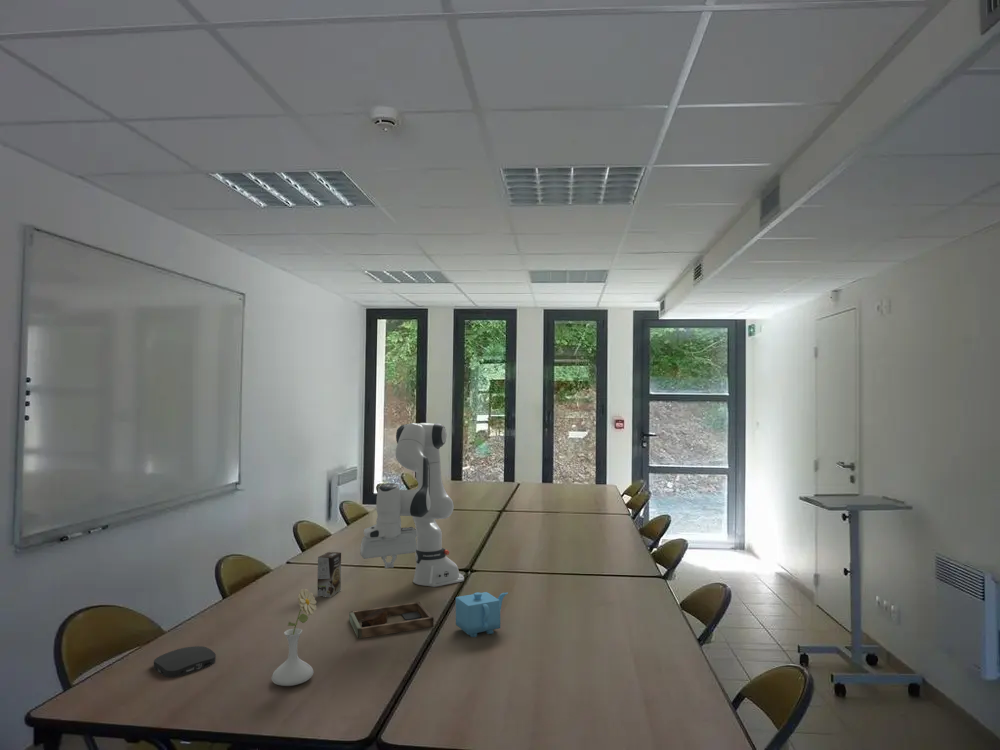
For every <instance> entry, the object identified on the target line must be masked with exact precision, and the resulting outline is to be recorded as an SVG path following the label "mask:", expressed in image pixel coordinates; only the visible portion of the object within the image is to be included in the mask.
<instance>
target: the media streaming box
mask: <svg viewBox="0 0 1000 750" xmlns="http://www.w3.org/2000/svg"><path fill="white" fill-rule="evenodd" d="M212 664H213V665H214V664H216V652H214V651H213V649H210V647H207V646H204V645H203V646H199V645H198V646H197V645H196V646H187V647H182V648H177V649H174V650H170V651H168V652H166V653H164V654H161V655H159V656H158V657H156V658H154V660H153V669H154V670H155V671H156V672H158V674H160V675H162V676H163V677H165V678H178V677H182V676H185V675H188V674H190V673H194V672H197V671H200V670H202V668H203V669H205V667H206V668H208V666H209V667H211V666H213V665H212ZM210 665H211V666H210Z"/></svg>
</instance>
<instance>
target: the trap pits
mask: <svg viewBox="0 0 1000 750" xmlns="http://www.w3.org/2000/svg"><path fill="white" fill-rule="evenodd" d="M400 615H401V617H402V618H403V619H404V621H408V620H415V619H421V618H422V616H421V615H420V614H419V613H418V611H416V612H409V613H402V614H400Z"/></svg>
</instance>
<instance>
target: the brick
mask: <svg viewBox="0 0 1000 750" xmlns="http://www.w3.org/2000/svg"><path fill="white" fill-rule="evenodd" d="M387 622H388V616H387V610H382V609H378V610H376V611H374V612H373V613H371V614H370V615H368V616H366V617H365V618H364V619H362V620H361V628H362V627H368V626H375V625H382V624H388V623H387Z"/></svg>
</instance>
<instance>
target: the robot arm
mask: <svg viewBox="0 0 1000 750" xmlns="http://www.w3.org/2000/svg"><path fill="white" fill-rule="evenodd" d="M446 430H447V429H446V427H445V426H444V425H443V424H442V423H438V422H435V423H432V422H420V423H419V422H417V423H416V422H412V423H411V422H410V423H406V424H401V425H400V426H399V427H398V428H397V429H396V433H395V440H396V441H395V442H396V449H395V458H396V461H397V462H398V464H400V465H401V466H402V467H403V468H405V469H406V470H410V471H413V472H414V473H415V479H416V482H417V488H416V489H400V486H399V484H397V483H394V482H393V483H392V482H388V483H387V482H386V483H383V484H381V485H380V486H378V489H377V493H376V501H375V502H376V503H375V504H376V505H375V506H376V507H375V508H376V509H375V510H376V513H377V515H376V516H377V517H376V522H375V524H374V525H372V526H369V527H366V528H364V530H363V535H364V536H363V537H362V539H361V542H360V543H361V544H360V549H359V550H360V553H359V554H360V557H361V558H362V559H366V560H367V559H374V558H381V560H382V562H383V563H384V569H392V568H394V563H395V562H396V560H397V556H398V555H406V554H413V553H415V562H416V564H415V571H414V576H413V580H412V582H413V583H414V584H416V585H419V586H426V587H427V586H428V587H432V588H436V587H441V586H445V585H451V584H456V583H460V582H464V581H465V577H464V574H462V573H461V572H460V571H459V567H458V565H457V564H456V562H454V560H452V559H450V558H449V557H448V555H449V554H450V551H449V550H448V549H445V548H444V547H443V546H442V545H443V541H442V539H443V533H442V529H441V528H440V526H439V525H438V523H437V522H436V520H443V519H448V518H449V517H451V515H453V512H454V510H455V509H454V508H455V507H454V501H453V499H452V498H451V497H450V495H449V494H448V493H447V491H446V489H445V485H444V483H443V480H442V471H441V453H440V448H441V447H443V446H444V445H445V444H446V442H447V438H448V437H447V431H446ZM401 517H412V520H413V522H414V526H415V527H413V526H409V527H402V518H401ZM389 556H391V557H392V558H391V560H390V561H389V562H388V561H387V557H389Z"/></svg>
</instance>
